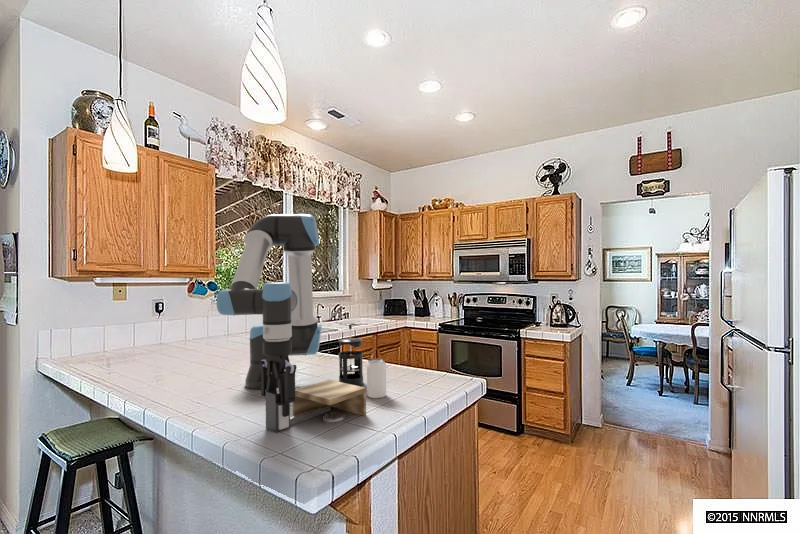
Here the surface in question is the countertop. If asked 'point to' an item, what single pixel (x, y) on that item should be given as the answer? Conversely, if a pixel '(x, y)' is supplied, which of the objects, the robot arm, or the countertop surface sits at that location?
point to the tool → (273, 412)
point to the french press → (354, 377)
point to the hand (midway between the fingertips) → (277, 425)
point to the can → (376, 378)
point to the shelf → (330, 397)
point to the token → (334, 417)
